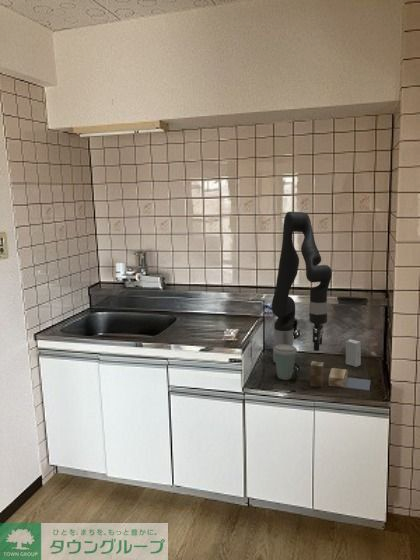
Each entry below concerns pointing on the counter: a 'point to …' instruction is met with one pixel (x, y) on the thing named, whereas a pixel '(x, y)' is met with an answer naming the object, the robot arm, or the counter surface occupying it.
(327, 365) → the counter surface
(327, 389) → the counter surface
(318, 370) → the walnut block
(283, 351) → the disposable coffee cup
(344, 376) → the beech step
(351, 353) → the skincare box
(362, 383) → the rubber mat
